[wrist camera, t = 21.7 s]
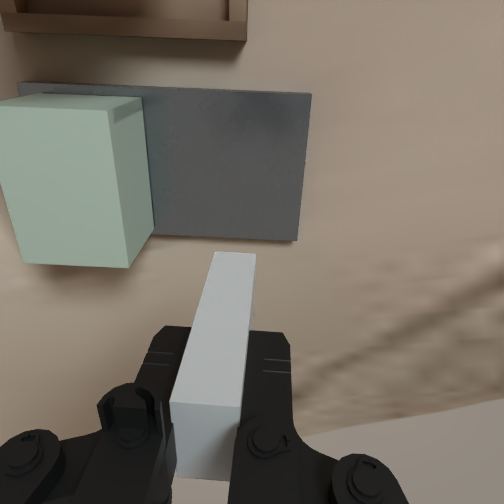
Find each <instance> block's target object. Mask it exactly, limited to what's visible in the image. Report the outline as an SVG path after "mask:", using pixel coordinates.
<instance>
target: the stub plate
mask: <svg viewBox="0 0 504 504" xmlns="http://www.w3.org/2000/svg"><path fill="white" fill-rule="evenodd" d="M17 84H18V88H19V92H20V97H22V96H27V95H32V94H37V93H48V94H72V95H96V96H119V97H141V99H142V110H143V120H144V130H145V140H146V151H147V161H148V171H149V182H150V192H151V202H152V212H153V223H154V230H153V231H152V233H151V234H159V235H180V236H201V237H222V238H243V239H263V240H284V241H297V236H298V226H299V216H300V206H301V197H302V187H303V177H304V167H305V157H306V148H307V138H308V128H309V118H310V108H311V99H312V94H311V93H297V92H273V91H249V90H225V89H200V88H176V87H152V86H128V85H104V84H80V83H55V82H31V81H24V82H17Z"/></svg>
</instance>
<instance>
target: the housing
mask: <svg viewBox="0 0 504 504" xmlns="http://www.w3.org/2000/svg"><path fill="white" fill-rule="evenodd" d="M0 183H1V186H2V190H3V193H4V197H5V200H6V204H7V207H8V210H9V214H10V217H11V221H12V224H13V228H14V231H15V235H16V238H17V241H18V245H19V248H20V252H21V255H22V259H23V262H24V263H34V264H54V265H74V266H94V267H114V268H130V266H131V264H132V263H133V261H134V260H135V258H136V256H137V255H138V253H139V252H140V250H141V249H142V247H143V245H144V244H145V242H146V241H147V239H148V237H149V236H150V234H151V233H152V231H153V230H154V223H153V212H152V202H151V192H150V182H149V171H148V161H147V151H146V140H145V130H144V120H143V110H142V99H141V97H119V96H96V95H72V94H48V93H37V94H32V95H27V96H22V97H17V98H12V99H7V100H2V101H0Z"/></svg>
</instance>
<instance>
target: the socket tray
mask: <svg viewBox="0 0 504 504" xmlns="http://www.w3.org/2000/svg"><path fill="white" fill-rule="evenodd" d="M0 12H1V16H2V21H3V25H4V29H5V31H10V32H29V33H54V34H80V35H106V36H131V37H157V38H182V39H208V40H233V41H247V17H248V0H0Z"/></svg>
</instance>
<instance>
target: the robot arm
mask: <svg viewBox="0 0 504 504" xmlns="http://www.w3.org/2000/svg"><path fill="white" fill-rule="evenodd" d="M255 270H256V254H251V253H235V252H219V251H215V253H214V256H213V260H212V263H211V266H210V270H209V273H208V276H207V279H206V283H205V286H204V289H203V293H202V296H201V299H200V302H199V306H198V309H197V312H196V316H195V319H194V322H193V325H192V327H180V326H164V327H163V328H162V329H161V330H160V331H159V332H158V333H157V334H156V335H155V336H154V337H153V340H152V342H151V344H150V347H149V349H148V353H147V354H146V356H145V358H144V361H143V364H142V365H141V368H140V370H139V373H138V375H137V377H136V380H135V382H134V383H126V384H123V385H121V386H118V387H115V388H113V389H112V390H111V391H109V392H108V393H107V394H105V395H104V396H103V397H102V399H101V400H100V401H99V403H98V404H97V409H98V413H99V417H100V421H101V426H102V429H101V430H99V431H97V432H94V433H91V434H88V435H84V436H79V437H75V438H70V439H66V440H61V441H59V440H58V437H57V435H55V434H54V433H52V432H51V431H49V430H42V429H35V430H30V431H25V432H23V433H21V434H19V435H17V436H15V437H13V438H11V439H9V440H8V441H7V442H6V443H4V444H3V445H2V446H1V447H0V504H171V503H172V489H171V485H172V481H173V477H174V473H175V469H176V472H177V477H182V478H195V479H207V480H218V481H230V486H229V495H228V504H409V503H408V501H407V499H406V497H405V495H404V493H403V491H402V489H401V487H400V485H399V483H398V481H397V479H396V478H395V477H394V475H393V474H392V472H391V471H390V470H389V468H387V467H386V466H385V465H384V464H382V463H381V462H380V461H379V460H377V459H375V458H373V457H370V456H368V455H365V454H350V455H348V456H345V457H342V458H341V459H340V460H339V461H338V460H336V459H334V458H331V457H329V456H326V455H324V454H322V453H319V452H317V451H316V450H313V449H312V448H310V447H309V446H308V445H307V444H305V443H304V442H303V441H302V439H301V438H300V437H299V435H298V434H297V432H296V430H295V427H294V423H293V412H292V385H291V362H290V360H291V358H290V344H289V343H288V341H287V339H286V338H285V336H284V334H283V333H281V332H266V331H252V323H253V311H254V291H255Z"/></svg>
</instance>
